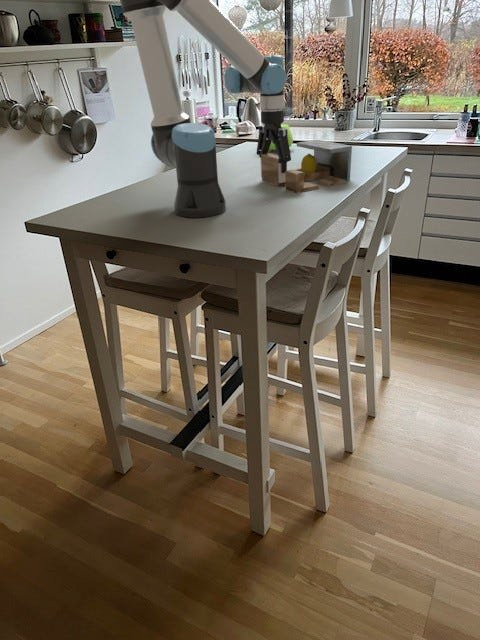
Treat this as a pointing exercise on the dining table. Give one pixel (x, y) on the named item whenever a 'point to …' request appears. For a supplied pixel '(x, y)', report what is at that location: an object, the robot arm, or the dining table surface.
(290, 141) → the green round lobed piece
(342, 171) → the shelf
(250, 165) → the dining table surface
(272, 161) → the wooden frame
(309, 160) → the lemon
